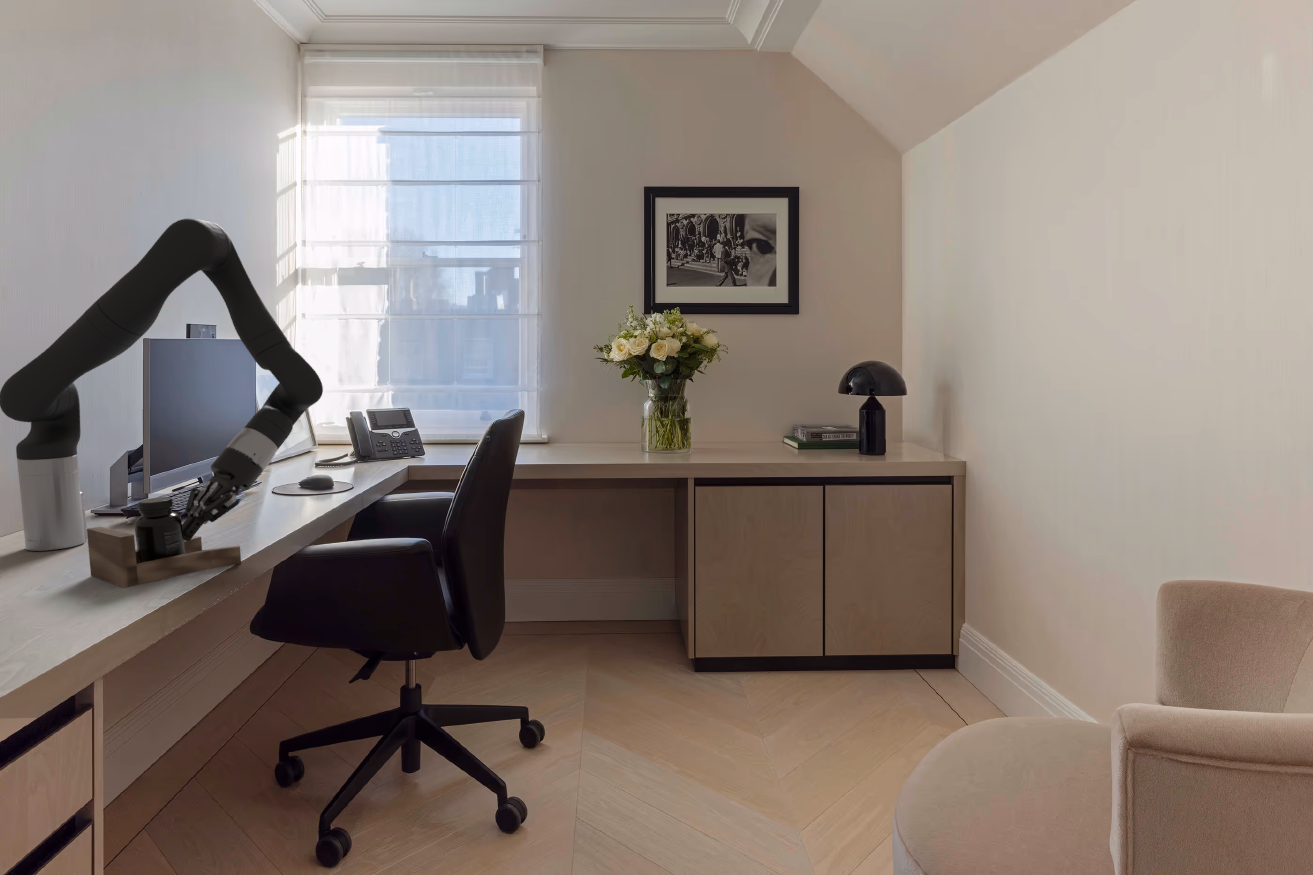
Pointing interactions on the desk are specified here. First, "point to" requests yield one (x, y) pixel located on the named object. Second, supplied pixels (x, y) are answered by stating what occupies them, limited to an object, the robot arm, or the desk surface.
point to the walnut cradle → (121, 564)
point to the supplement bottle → (158, 530)
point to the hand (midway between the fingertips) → (181, 537)
